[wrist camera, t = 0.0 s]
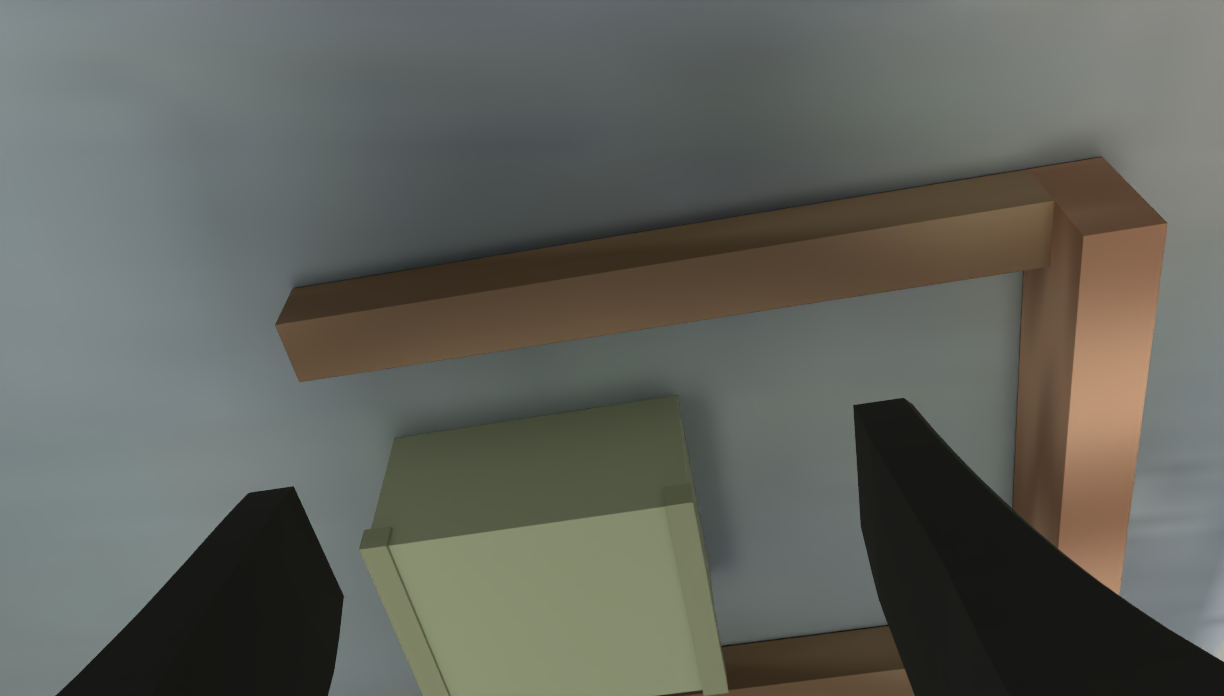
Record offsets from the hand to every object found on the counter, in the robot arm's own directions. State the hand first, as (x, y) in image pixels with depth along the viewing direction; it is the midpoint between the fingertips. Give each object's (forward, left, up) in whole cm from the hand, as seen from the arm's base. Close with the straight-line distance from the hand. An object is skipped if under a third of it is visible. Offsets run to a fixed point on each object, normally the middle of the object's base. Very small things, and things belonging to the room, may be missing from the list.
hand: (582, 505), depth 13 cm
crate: (-9, +2, -10) cm, 14 cm away
